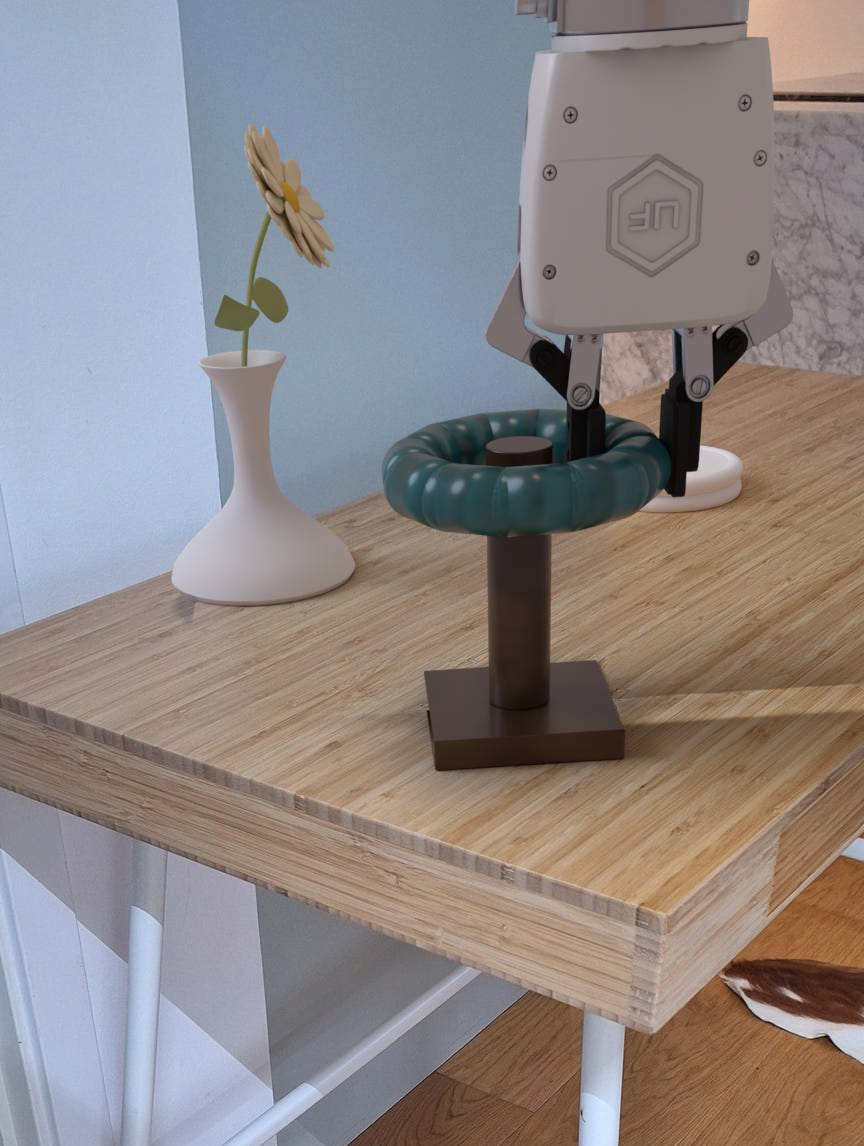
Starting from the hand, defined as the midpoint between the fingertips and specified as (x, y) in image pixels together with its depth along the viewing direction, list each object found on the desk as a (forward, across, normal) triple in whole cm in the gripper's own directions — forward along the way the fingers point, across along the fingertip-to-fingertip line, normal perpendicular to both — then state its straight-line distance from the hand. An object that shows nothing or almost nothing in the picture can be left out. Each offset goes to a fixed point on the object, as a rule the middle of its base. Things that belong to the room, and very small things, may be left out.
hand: (630, 488), depth 67 cm
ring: (-1, -5, 0) cm, 5 cm away
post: (+11, -5, 0) cm, 12 cm away
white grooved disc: (+12, +9, +35) cm, 38 cm away
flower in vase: (+11, -18, +23) cm, 31 cm away
